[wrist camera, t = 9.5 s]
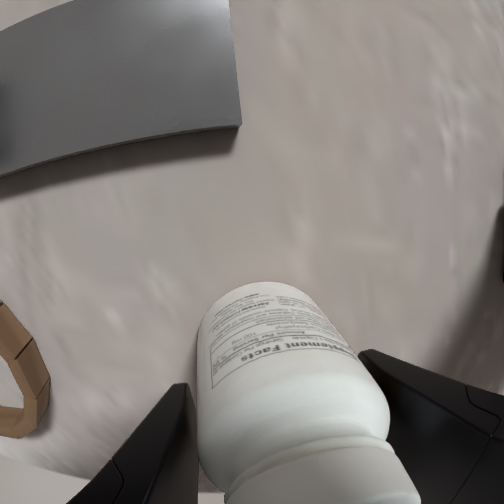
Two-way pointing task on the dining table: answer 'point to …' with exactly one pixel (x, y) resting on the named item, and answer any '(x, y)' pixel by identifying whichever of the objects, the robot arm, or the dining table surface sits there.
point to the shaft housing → (114, 77)
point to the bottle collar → (22, 377)
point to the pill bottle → (290, 406)
